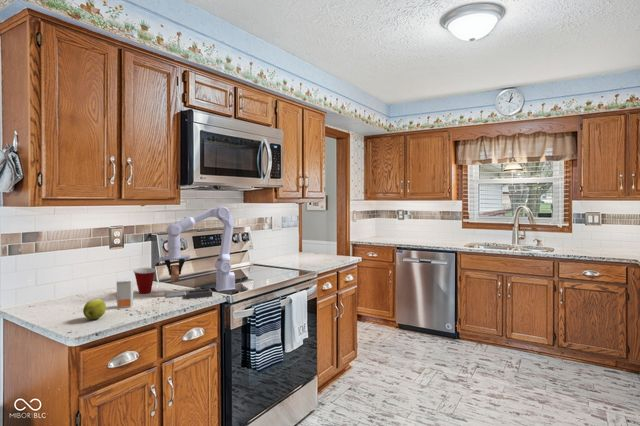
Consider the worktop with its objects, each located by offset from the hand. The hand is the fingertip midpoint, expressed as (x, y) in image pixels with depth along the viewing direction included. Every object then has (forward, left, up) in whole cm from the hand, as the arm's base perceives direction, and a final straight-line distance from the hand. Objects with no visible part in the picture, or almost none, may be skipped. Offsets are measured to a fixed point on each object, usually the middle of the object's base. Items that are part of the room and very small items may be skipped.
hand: (174, 274), depth 206 cm
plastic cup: (+13, -12, -10) cm, 21 cm away
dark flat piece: (-11, +8, -10) cm, 17 cm away
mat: (0, 0, -10) cm, 10 cm away
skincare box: (+22, +13, -10) cm, 28 cm away
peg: (0, 0, -3) cm, 3 cm away
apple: (+33, +28, -10) cm, 45 cm away
